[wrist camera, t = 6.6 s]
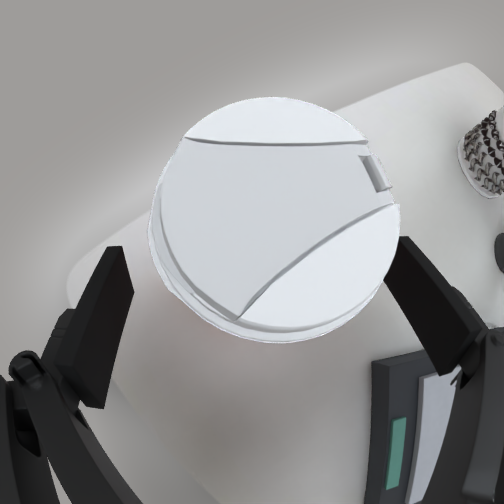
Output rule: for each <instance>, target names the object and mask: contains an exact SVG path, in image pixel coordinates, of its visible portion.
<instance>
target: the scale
mask: <svg viewBox="0 0 504 504" xmlns="http://www.w3.org/2000/svg"><path fill="white" fill-rule="evenodd" d="M494 329H495V330H498V331H500V332H501V333H503V334H504V327H497V328H494ZM460 370H461V367H460V365H459V364H458V365H457V366H456V368H455V369H454V370H453V372H452V373H449V374H446V375H443V376H440V377H439V375H438V373H437V371H436V369H435V367H434V366H433V364H432V362H431V360H430V358H429V356H428V354H427V353H426V351H425V350H421V351H417V352H413V353H409V354H405V355H400V356H396V357H391V358H386V359H382V360H377V361H372V417H371V439H370V454H369V466H368V476H367V485H366V493H365V501H364V504H421V501H422V499H423V497H424V494H425V492H426V489H427V487H428V484H429V481H430V479H431V476H432V473H433V471H434V468H435V465H436V462H437V459H438V456H439V453H440V449H441V446H442V443H443V439H444V436H445V432H446V428H447V425H448V421H449V417H450V412H451V408H452V403H453V399H454V394H455V388H456V387H455V385H456V383H457V380H456V381H455V382H454V383H453V385H450V383H451V381H452V380H453V379H454V377H455V376H456V375H457V374H458V372H459V371H460Z"/></svg>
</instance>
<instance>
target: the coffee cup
mask: <svg viewBox="0 0 504 504" xmlns="http://www.w3.org/2000/svg"><path fill="white" fill-rule="evenodd" d="M367 143H368V139H367V138H366V137H365V136H364V135H363V134H362V133H361V132H360V131H359V130H358V129H357V128H355V127H354V126H353V125H352V124H350V123H349V122H348V121H346V120H345V119H343V118H342V117H340V116H338V115H337V114H335V113H333V112H331V111H329V110H327V109H325V108H322V107H320V106H318V105H315V104H312V103H309V102H304V101H301V100H297V99H290V98H283V97H261V98H254V99H247V100H243V101H240V102H236V103H233V104H230V105H227V106H225V107H223V108H220V109H218V110H216V111H214V112H213V113H211V114H209V115H208V116H206V117H205V118H203V119H201V120H200V121H199V122H198V123H197V124H195V125H194V126H193V127H192V128H191V129H190V130H189V131H188V132H187V133H186V134H185V135H184V136H183V137H182V139H181V142H180V143H179V145H178V147H177V149H176V151H175V153H174V154H173V155H172V157H171V158H170V159H169V161H168V163H167V165H166V166H165V168H164V170H163V172H162V174H161V176H160V178H159V181H158V184H157V187H156V189H155V193H154V199H153V204H152V209H151V214H150V219H149V224H148V228H147V235H148V241H149V247H150V252H151V255H152V258H153V261H154V264H155V266H156V269H157V271H158V273H159V275H160V277H161V279H162V280H163V282H164V284H165V286H166V288H167V289H168V290H169V291H170V292H172V293H173V294H174V295H175V296H176V297H178V298H179V299H180V300H181V301H182V302H184V303H185V304H186V305H187V306H188V307H189V308H191V309H192V310H193V311H194V312H195V313H196V314H197V315H199V316H200V317H201V318H202V319H204V320H205V321H207V322H209V323H210V324H212V325H214V326H215V327H217V328H218V329H220V330H222V331H225V332H227V333H230V334H232V335H235V336H237V337H240V338H243V339H248V340H253V341H257V342H262V343H292V342H299V341H306V340H309V339H312V338H316V337H319V336H322V335H325V334H327V333H329V332H331V331H333V330H335V329H337V328H339V327H341V326H342V325H344V324H345V323H346V322H348V321H349V320H350V319H352V318H353V317H354V316H356V315H357V314H358V313H359V312H360V311H361V310H362V309H363V308H364V307H365V306H366V305H367V304H368V302H369V301H370V300H371V299H372V298H373V296H374V295H375V293H376V291H377V290H378V288H379V287H380V285H381V284H382V281H383V279H384V277H385V275H386V274H387V272H388V270H389V268H390V265H391V263H392V260H393V258H394V256H395V253H396V248H397V244H398V240H399V232H400V208H399V203H398V204H395V205H393V203H394V202H395V201H394V199H393V197H392V194H391V192H390V188H392V185H391V183H390V181H389V179H388V177H387V174H386V172H385V170H384V168H383V166H382V164H381V162H380V160H379V158H378V156H377V155H376V154H372V153H371V151H370V149H369V147H368V146H367Z"/></svg>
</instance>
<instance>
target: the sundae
mask: <svg viewBox="0 0 504 504" xmlns="http://www.w3.org/2000/svg"><path fill="white" fill-rule="evenodd" d="M495 256H496V260H497V263H498V265H499V267H500V269H501V270H502V272H504V233H501V234H499V235H498V237H497V239H496V242H495Z"/></svg>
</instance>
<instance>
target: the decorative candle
mask: <svg viewBox="0 0 504 504" xmlns="http://www.w3.org/2000/svg"><path fill="white" fill-rule="evenodd" d="M457 152H458V159H459V162H460V165H461V167H462V170H463V172H464V174H465V176H466V177H467V179H468V180H469V182H470V184H471V185H472V186H473V187H474V188H475V189H476V190H477V191H478V192H479V193H480V194H481V195H483V196H485V197H487V198H488V199H489V198H496V197H497V196H498V195H501V194H502V191H503V192H504V106H503V107H502V108H501V109H499V110H498V111H495V110H494V111H492V113H490V114H489V118H488V117H486V118H485V119H484V120H482V122H481V124H477V125H476V126H475V127H474V128H473V129H472V130H471V131H469V132H468V133H467V134H466V135H465V137H464V138H462V139H461V140H460V141H459V143H458V147H457Z"/></svg>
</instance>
